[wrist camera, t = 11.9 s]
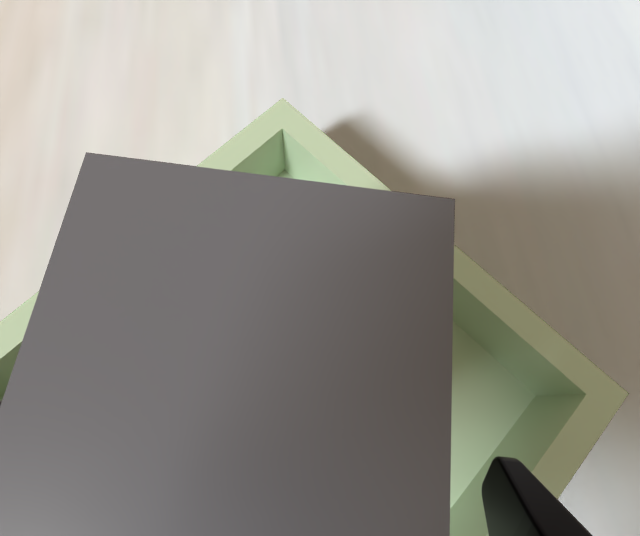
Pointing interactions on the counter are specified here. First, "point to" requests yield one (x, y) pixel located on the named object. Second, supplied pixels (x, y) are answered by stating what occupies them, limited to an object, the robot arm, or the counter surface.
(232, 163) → the pale green tray
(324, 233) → the grey square pillar
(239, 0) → the counter surface
